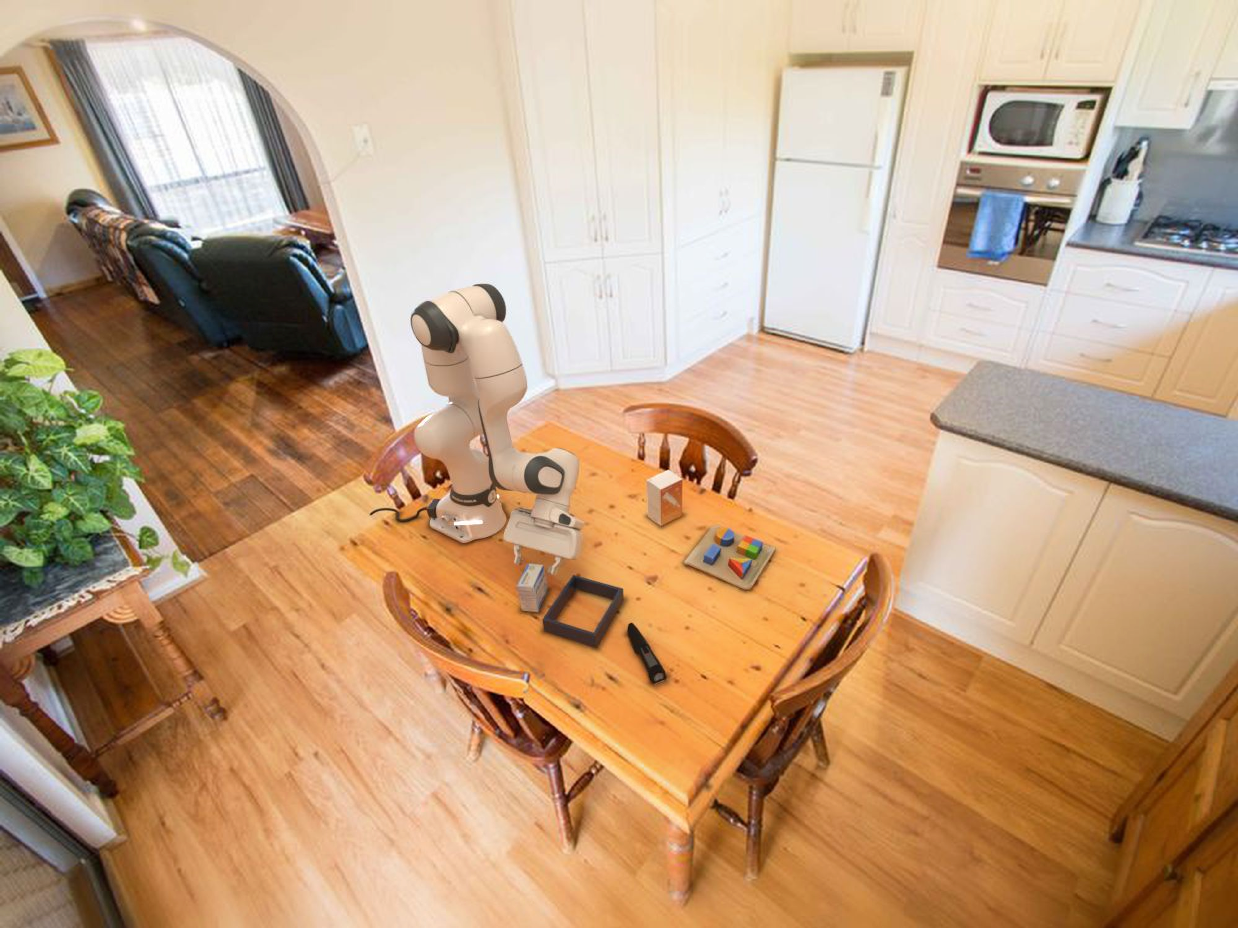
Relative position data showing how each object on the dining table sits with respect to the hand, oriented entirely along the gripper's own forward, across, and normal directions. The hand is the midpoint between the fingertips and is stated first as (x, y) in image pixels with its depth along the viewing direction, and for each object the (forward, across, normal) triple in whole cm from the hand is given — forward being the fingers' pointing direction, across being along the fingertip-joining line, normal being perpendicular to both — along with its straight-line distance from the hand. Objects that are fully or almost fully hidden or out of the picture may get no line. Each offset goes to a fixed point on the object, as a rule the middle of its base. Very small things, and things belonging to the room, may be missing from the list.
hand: (534, 569), depth 148 cm
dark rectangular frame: (+7, +14, +4) cm, 17 cm away
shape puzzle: (-15, +41, +26) cm, 51 cm away
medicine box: (+8, +1, +4) cm, 9 cm away
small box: (-22, +19, +34) cm, 45 cm away
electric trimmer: (+12, +32, -1) cm, 34 cm away
